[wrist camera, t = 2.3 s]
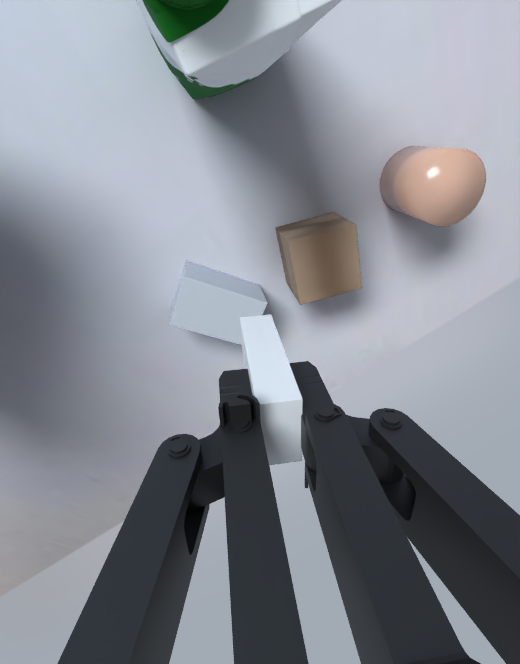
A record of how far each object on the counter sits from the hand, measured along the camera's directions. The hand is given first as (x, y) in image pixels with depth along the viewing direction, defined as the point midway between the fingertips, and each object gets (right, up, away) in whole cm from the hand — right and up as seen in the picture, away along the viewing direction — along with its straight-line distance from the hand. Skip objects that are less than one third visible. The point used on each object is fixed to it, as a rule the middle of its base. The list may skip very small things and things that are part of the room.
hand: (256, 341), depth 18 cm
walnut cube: (+5, +9, +21) cm, 23 cm away
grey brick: (-4, +4, +21) cm, 22 cm away
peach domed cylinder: (+15, +15, +19) cm, 28 cm away
